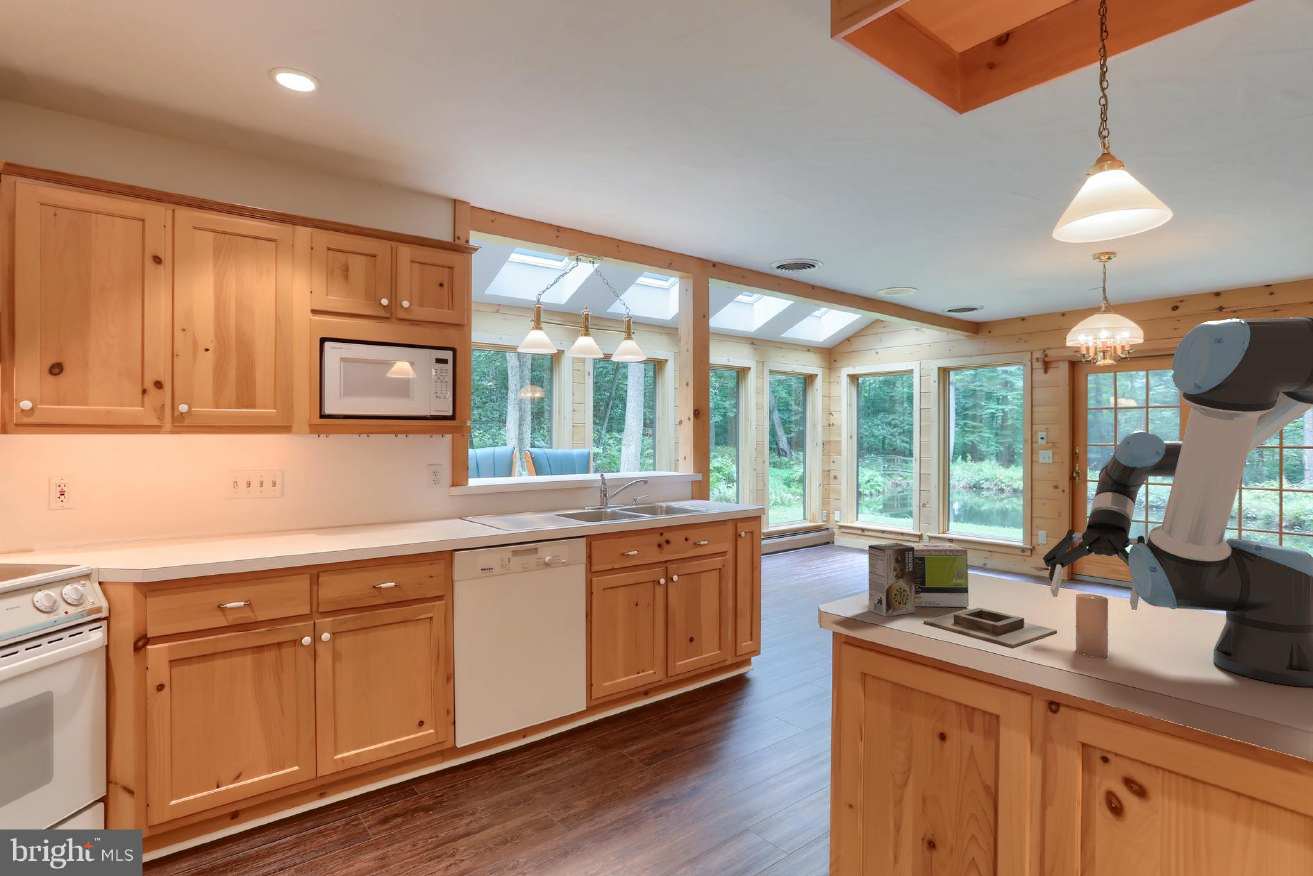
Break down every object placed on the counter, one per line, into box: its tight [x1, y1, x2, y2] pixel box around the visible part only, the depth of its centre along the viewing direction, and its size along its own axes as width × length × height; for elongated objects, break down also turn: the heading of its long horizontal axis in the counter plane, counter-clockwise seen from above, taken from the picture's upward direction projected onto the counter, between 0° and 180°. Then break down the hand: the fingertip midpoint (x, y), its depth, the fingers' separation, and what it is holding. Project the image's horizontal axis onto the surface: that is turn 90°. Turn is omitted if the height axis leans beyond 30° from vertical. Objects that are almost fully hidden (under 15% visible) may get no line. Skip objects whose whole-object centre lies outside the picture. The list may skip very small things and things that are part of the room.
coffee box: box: [868, 542, 916, 617], centre depth 153 cm, size 9×6×16 cm
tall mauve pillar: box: [1075, 593, 1109, 659], centre depth 123 cm, size 5×5×11 cm
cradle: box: [922, 607, 1058, 648], centre depth 140 cm, size 20×18×3 cm
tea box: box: [899, 542, 970, 608], centre depth 161 cm, size 15×10×15 cm, turn 84°
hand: (1091, 599), depth 127 cm, fingers open, 13 cm apart
